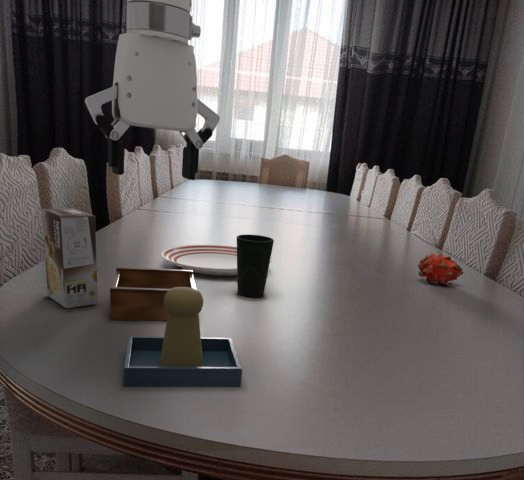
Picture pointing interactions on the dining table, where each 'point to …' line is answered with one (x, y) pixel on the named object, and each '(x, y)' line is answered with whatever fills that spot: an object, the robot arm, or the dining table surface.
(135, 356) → the tray
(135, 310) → the brown wooden open box
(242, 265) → the cup
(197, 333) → the cork
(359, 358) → the dining table surface
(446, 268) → the dragon fruit
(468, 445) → the dining table surface
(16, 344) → the dining table surface
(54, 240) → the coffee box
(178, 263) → the dinner plate
